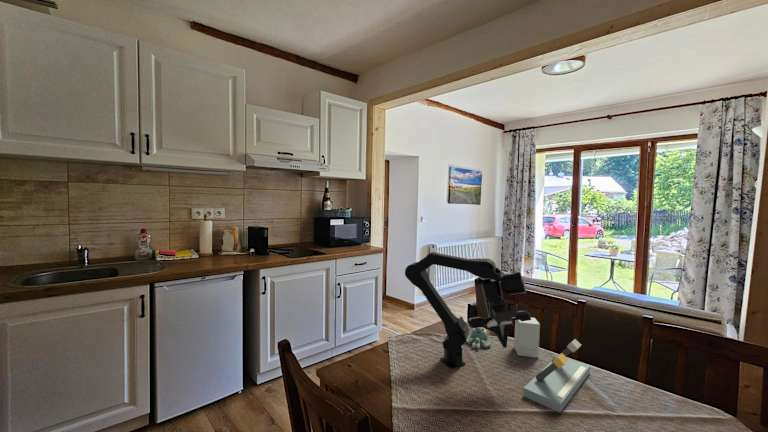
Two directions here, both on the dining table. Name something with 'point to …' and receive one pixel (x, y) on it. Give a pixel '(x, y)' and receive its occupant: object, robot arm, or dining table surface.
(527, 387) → the switch panel
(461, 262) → the robot arm
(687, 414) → the dining table surface
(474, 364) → the dining table surface
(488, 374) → the dining table surface
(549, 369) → the lever
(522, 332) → the supplement box
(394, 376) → the dining table surface
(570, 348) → the on lever
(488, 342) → the stuffed animal
